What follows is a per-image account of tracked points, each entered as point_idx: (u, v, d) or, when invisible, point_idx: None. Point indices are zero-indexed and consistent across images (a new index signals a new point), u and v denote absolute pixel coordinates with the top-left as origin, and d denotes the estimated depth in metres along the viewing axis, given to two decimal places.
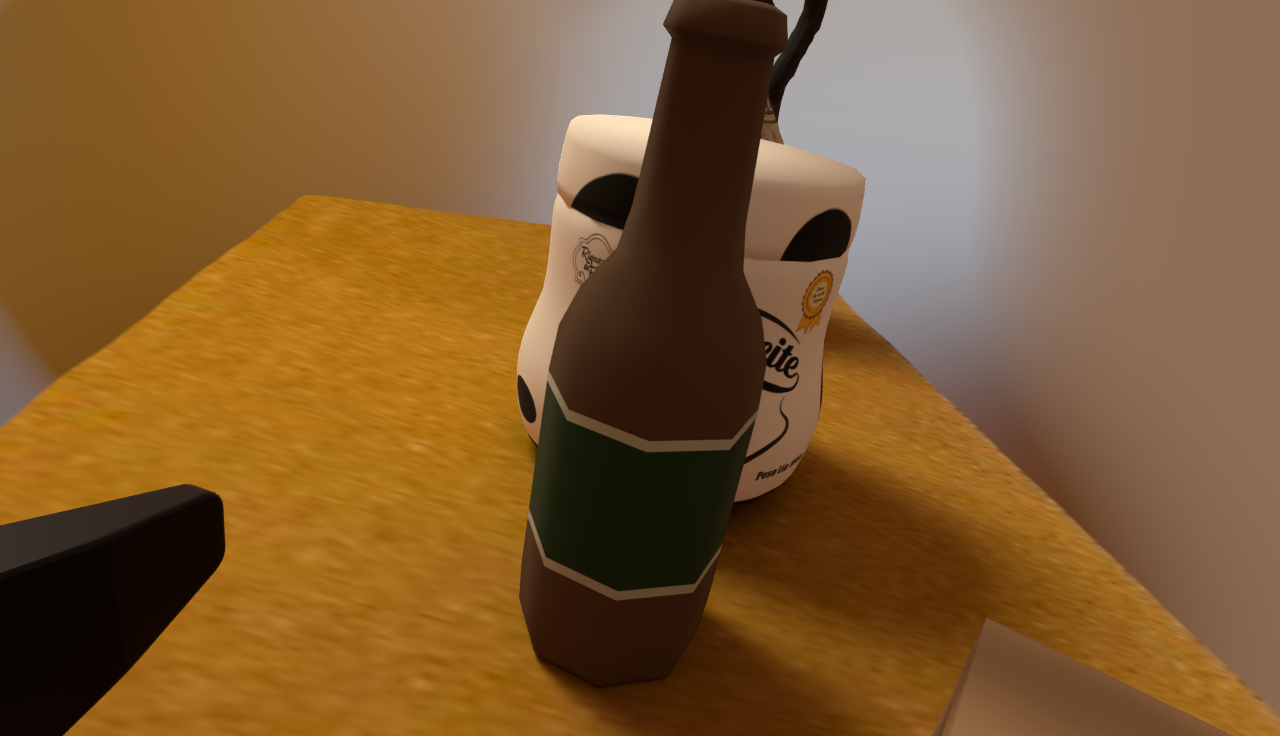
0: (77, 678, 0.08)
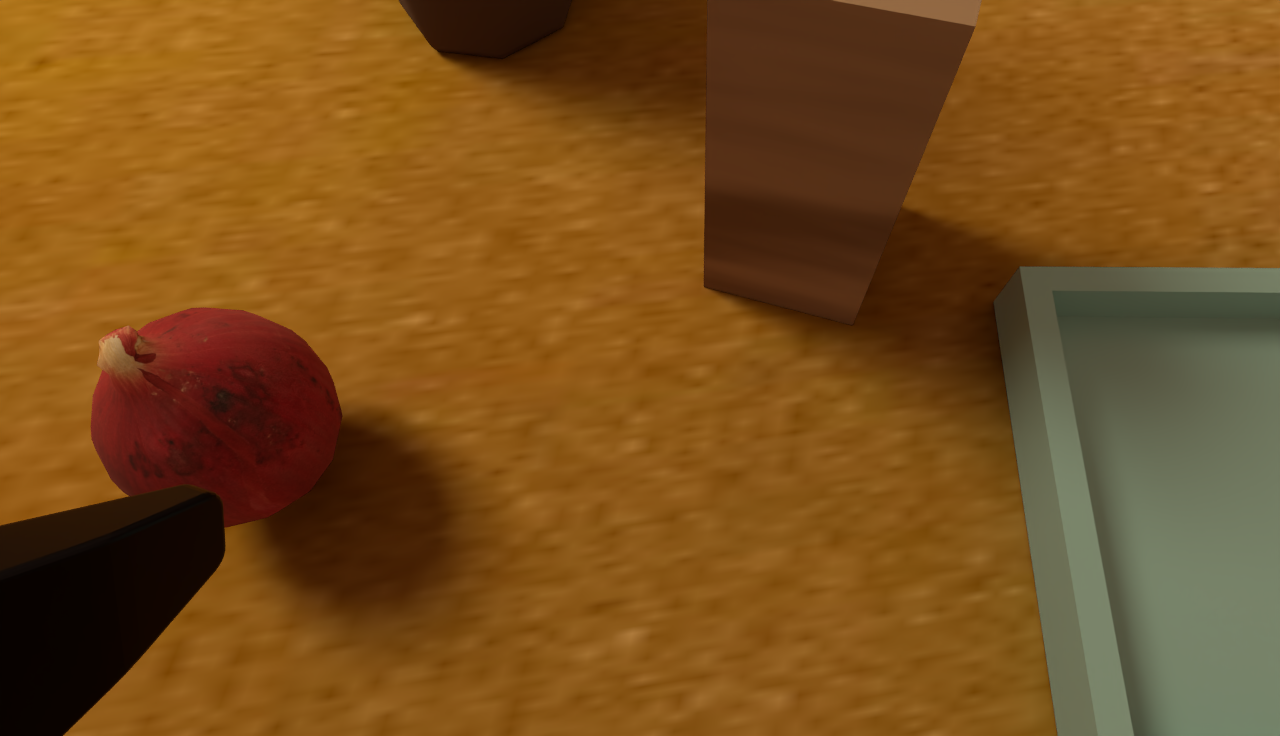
0: (77, 678, 0.08)
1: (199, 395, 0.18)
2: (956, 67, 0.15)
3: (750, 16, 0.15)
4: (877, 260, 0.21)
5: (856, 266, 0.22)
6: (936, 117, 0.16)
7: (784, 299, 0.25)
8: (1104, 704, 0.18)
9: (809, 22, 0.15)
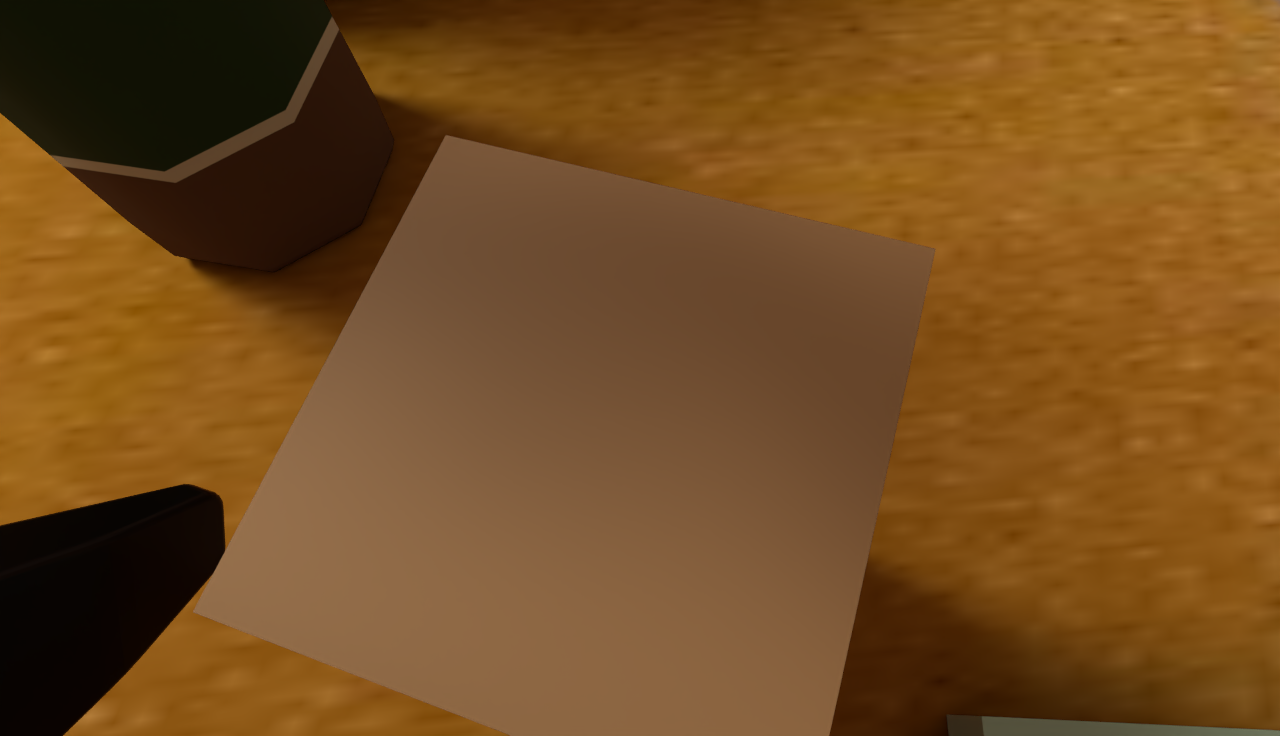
0: (77, 678, 0.08)
1: None
2: None
3: None
4: None
5: None
6: None
7: None
8: None
9: None
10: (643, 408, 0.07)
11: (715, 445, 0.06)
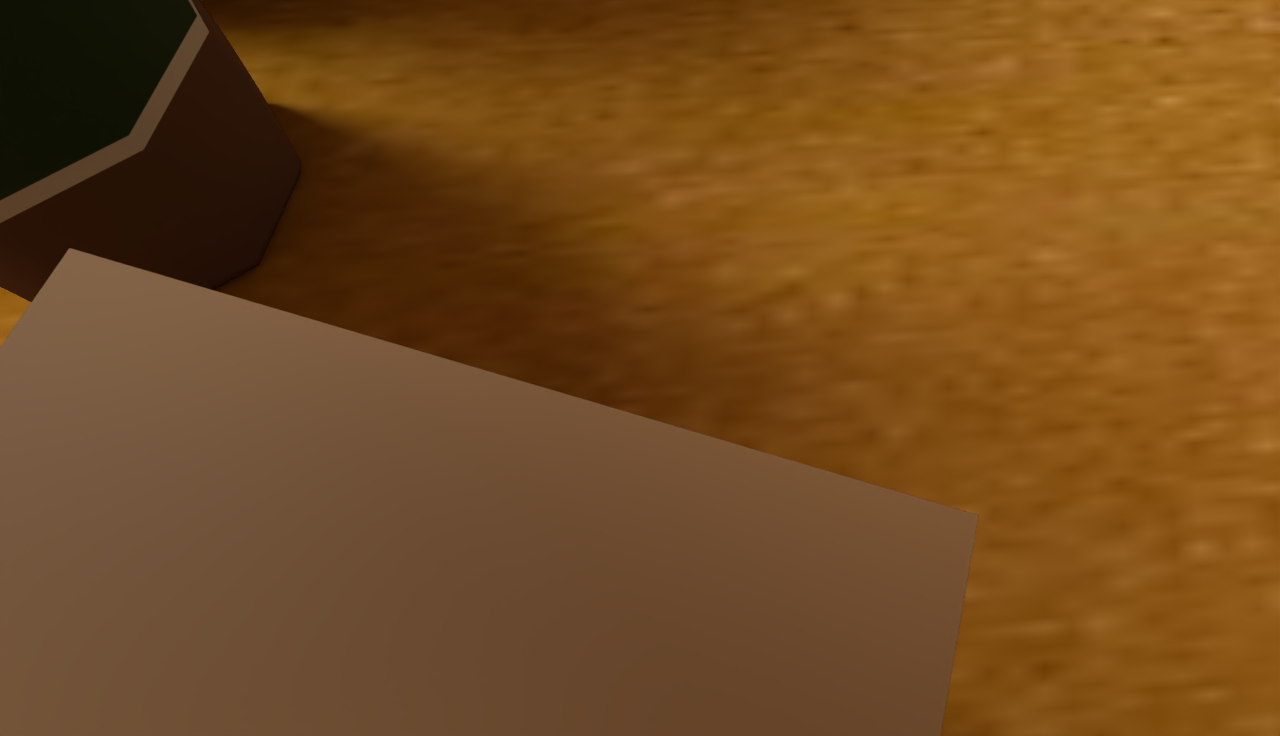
0: None
1: None
2: None
3: None
4: None
5: None
6: None
7: None
8: None
9: None
10: None
11: None
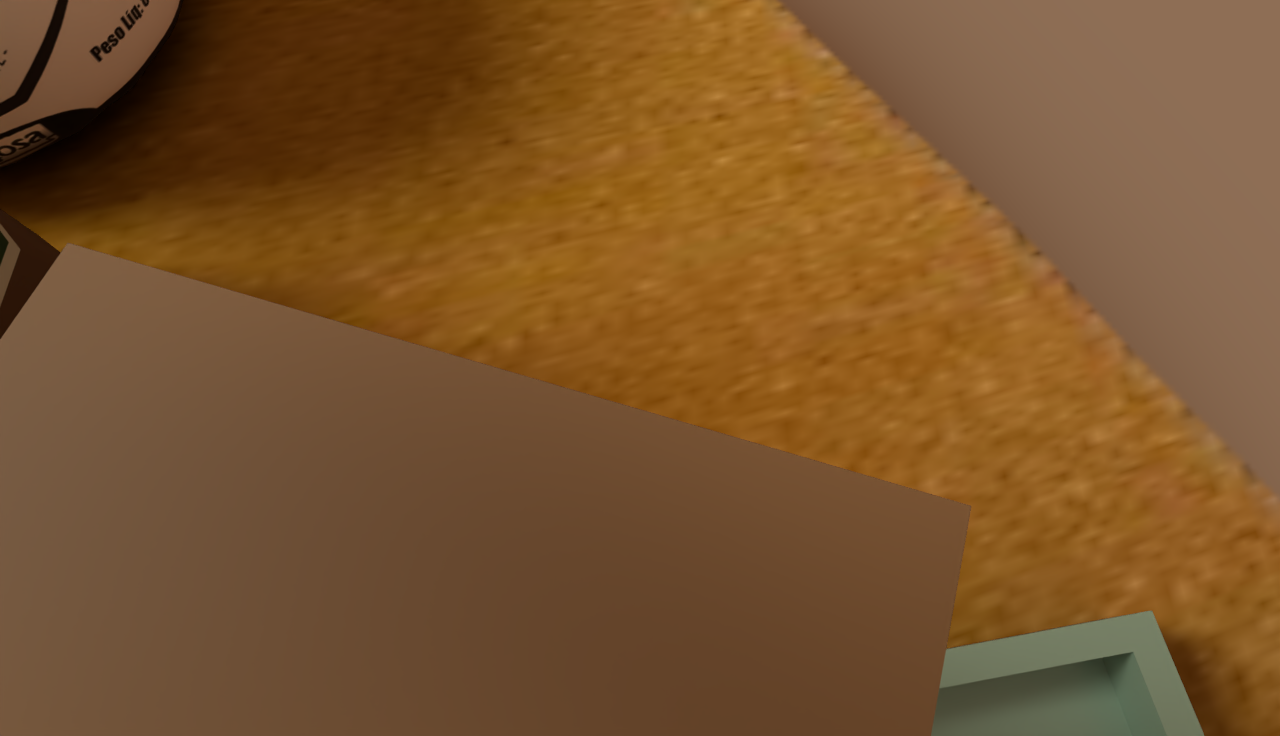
0: None
1: None
2: None
3: None
4: None
5: None
6: None
7: None
8: None
9: None
10: None
11: None
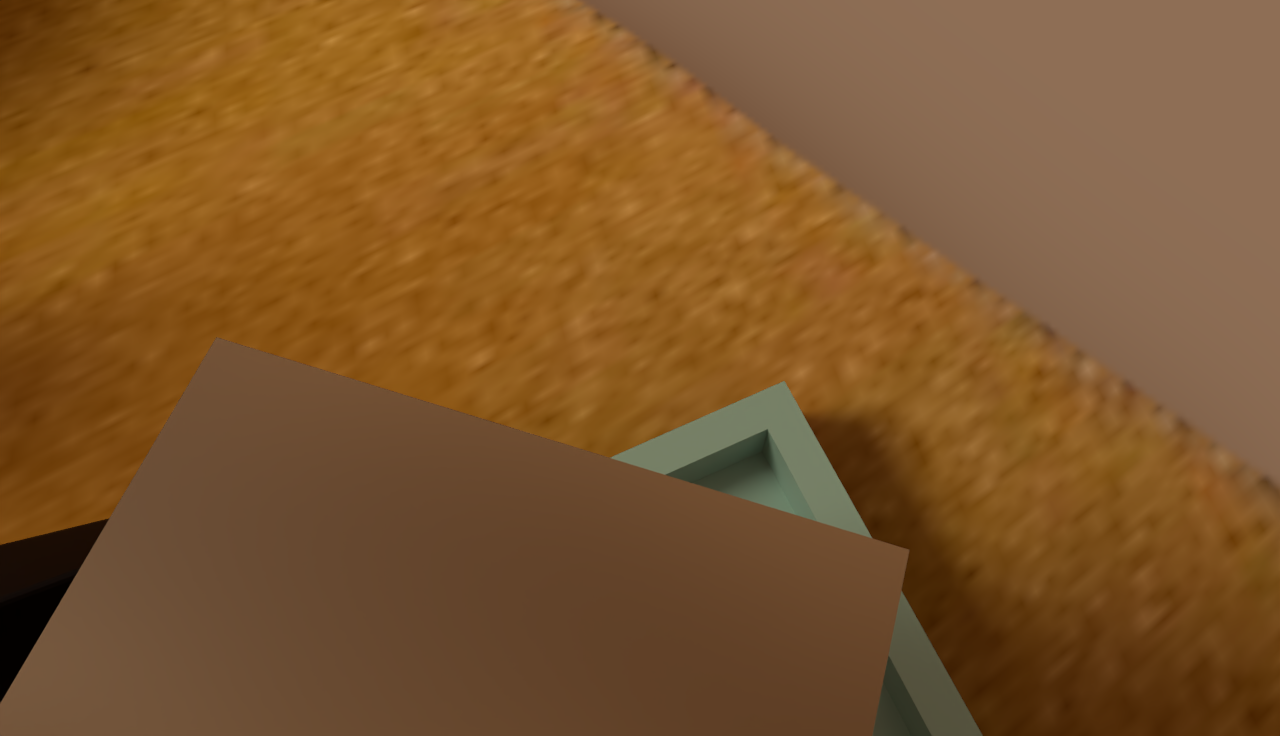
0: None
1: None
2: None
3: None
4: None
5: None
6: None
7: None
8: None
9: None
10: None
11: None
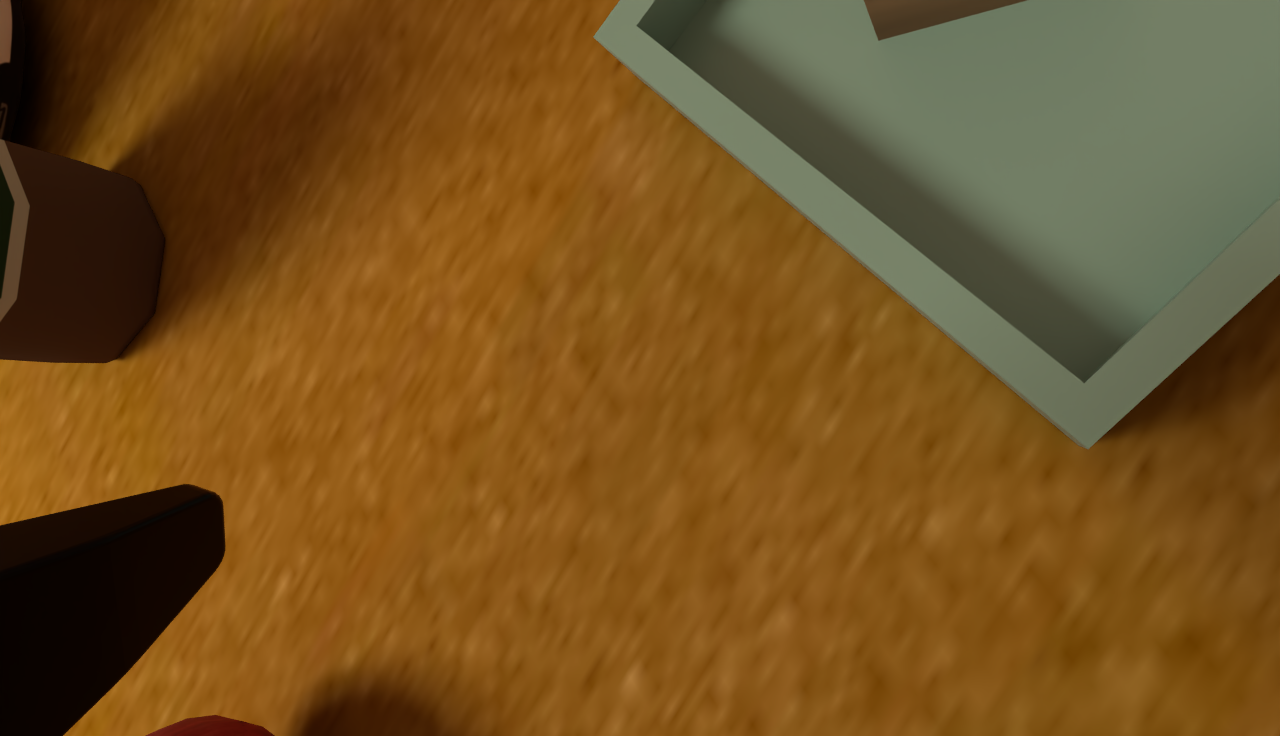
0: (77, 678, 0.08)
1: None
2: None
3: None
4: None
5: None
6: None
7: None
8: (1016, 368, 0.14)
9: None
10: None
11: None
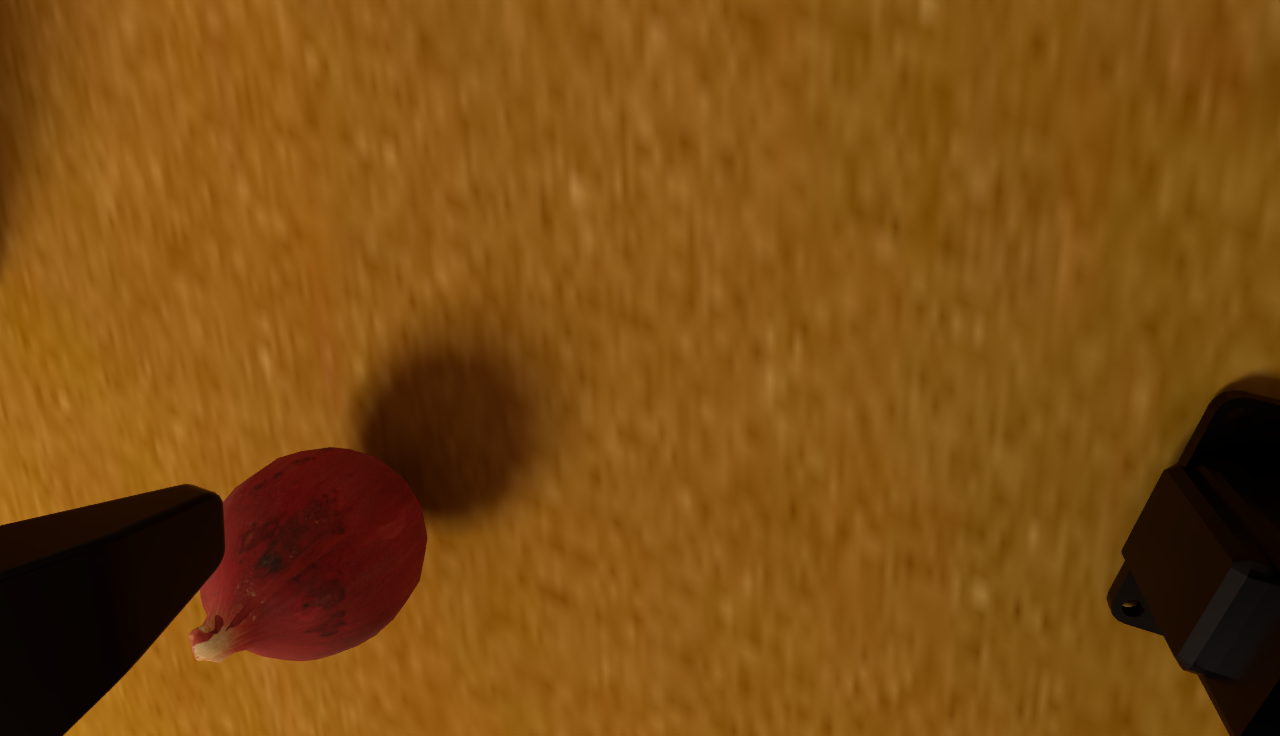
0: (77, 678, 0.08)
1: (261, 580, 0.19)
2: None
3: None
4: None
5: None
6: None
7: None
8: None
9: None
10: None
11: None
